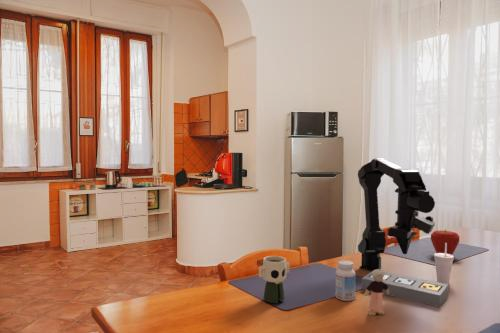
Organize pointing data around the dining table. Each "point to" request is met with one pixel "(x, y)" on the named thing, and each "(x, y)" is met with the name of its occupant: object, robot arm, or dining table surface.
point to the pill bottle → (345, 281)
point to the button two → (404, 281)
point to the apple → (444, 241)
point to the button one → (384, 277)
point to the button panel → (411, 289)
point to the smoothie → (443, 266)
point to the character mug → (274, 277)
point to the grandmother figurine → (376, 293)
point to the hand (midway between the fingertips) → (404, 253)
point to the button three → (431, 287)
